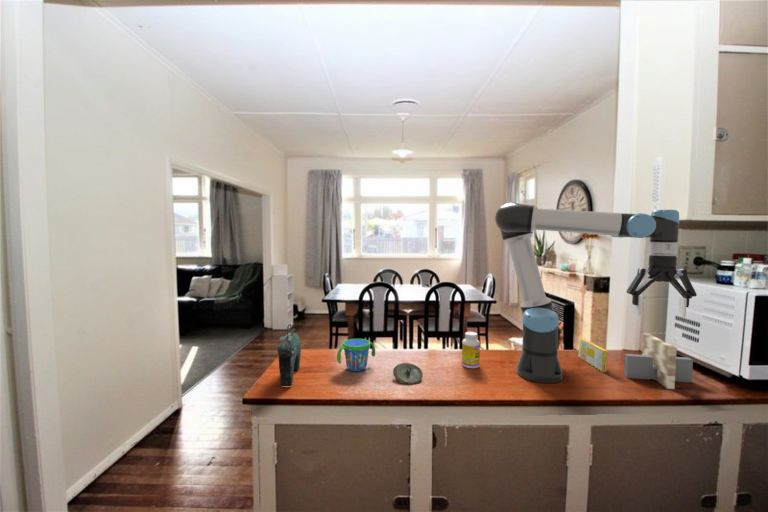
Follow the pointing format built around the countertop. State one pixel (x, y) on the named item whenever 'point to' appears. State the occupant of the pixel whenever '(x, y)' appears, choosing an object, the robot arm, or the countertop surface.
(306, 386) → the countertop surface
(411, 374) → the lid
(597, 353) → the candy box
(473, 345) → the supplement bottle
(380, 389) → the countertop surface
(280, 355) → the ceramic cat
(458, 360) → the countertop surface
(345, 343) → the snack cup
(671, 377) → the beige brown notched block
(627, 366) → the grey notched base plate
